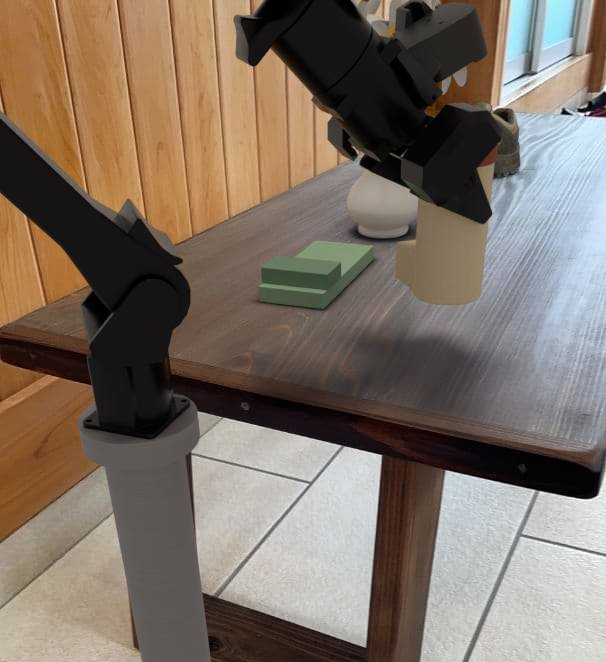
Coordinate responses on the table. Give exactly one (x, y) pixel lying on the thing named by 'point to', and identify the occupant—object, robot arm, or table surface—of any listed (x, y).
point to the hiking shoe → (505, 140)
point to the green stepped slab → (313, 274)
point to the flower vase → (373, 190)
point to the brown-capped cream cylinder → (446, 251)
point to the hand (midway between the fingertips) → (469, 209)
